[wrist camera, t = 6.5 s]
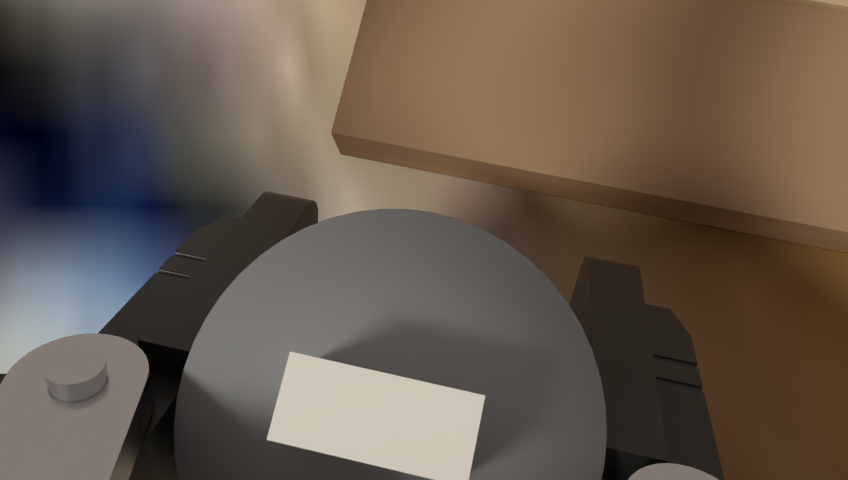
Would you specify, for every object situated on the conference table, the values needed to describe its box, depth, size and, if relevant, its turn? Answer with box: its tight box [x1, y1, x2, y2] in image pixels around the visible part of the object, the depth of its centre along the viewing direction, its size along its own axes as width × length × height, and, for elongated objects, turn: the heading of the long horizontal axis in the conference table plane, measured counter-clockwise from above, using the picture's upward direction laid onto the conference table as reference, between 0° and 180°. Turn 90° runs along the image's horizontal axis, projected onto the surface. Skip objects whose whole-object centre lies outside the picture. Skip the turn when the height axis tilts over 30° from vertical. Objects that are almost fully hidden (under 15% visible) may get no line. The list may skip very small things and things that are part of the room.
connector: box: [174, 209, 607, 480], centre depth 10 cm, size 4×4×9 cm
